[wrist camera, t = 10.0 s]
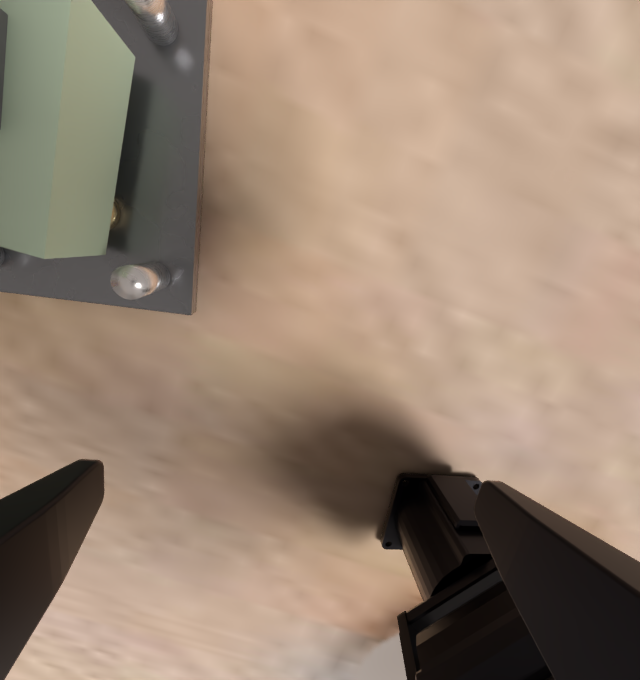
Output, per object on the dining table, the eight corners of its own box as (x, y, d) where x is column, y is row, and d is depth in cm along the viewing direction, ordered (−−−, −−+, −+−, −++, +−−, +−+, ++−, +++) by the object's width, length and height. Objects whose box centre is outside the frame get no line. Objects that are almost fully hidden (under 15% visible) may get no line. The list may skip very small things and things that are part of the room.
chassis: (195, 311, 18) (173, 329, 14) (-32, 282, 16) (-130, 294, 12) (212, 1, 14) (187, -90, 10) (-84, -81, 12) (-247, -227, 8)
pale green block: (105, 255, 15) (31, 260, 10) (-21, 217, 14) (-163, 205, 9) (135, 56, 13) (59, -41, 8) (-10, -4, 12) (-183, -152, 7)
